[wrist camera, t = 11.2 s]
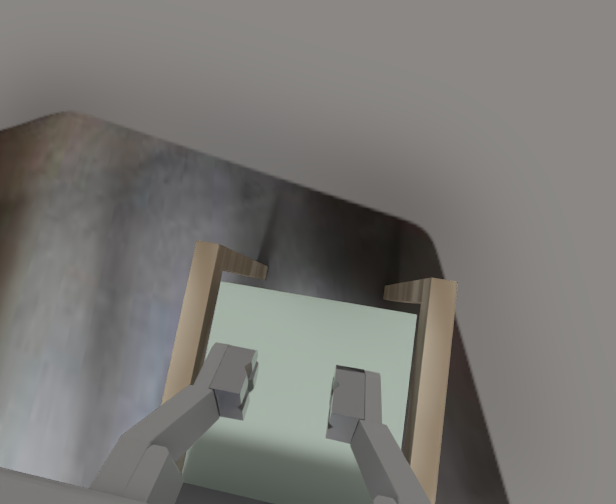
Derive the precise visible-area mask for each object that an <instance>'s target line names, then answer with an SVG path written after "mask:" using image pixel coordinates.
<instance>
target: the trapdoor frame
mask: <svg viewBox="0 0 616 504" xmlns="http://www.w3.org/2000/svg"><path fill="white" fill-rule="evenodd" d="M267 269H268V266H265V265H263V264H261V263H259V262H257V261H255V260H253V259H250V258H248V257H246V256H244V255H242V254H240V253H237V252H235V251H233V250H231V249H229V248H227V247H225V246H222V245H220V244H216V243H210V242H203V241H197V242H196V246H195V251H194V255H193V260H192V265H191V269H190V274H189V278H188V283H187V288H186V292H185V297H184V301H183V306H182V311H181V315H180V320H179V324H178V329H177V334H176V338H175V343H174V347H173V352H172V357H171V361H170V366H169V371H168V375H167V380H166V384H165V389H164V394H163V398H162V403H161V405H163V404H164V403H165V402H167V401H168V400H169V399H170V398H172V397H173V396H174V395H176V394H177V393H178V392H180V391H181V390H182V389H184V388H185V387H186V386H188V385H193V384H194V382H195V380H196V378H197V376H198V374H199V372H200V370H201V368H202V366H203V364H204V359H205V354H206V349H207V344H208V339H209V334H210V329H211V324H212V319H213V314H214V310H215V305H216V300H217V295H218V290H219V285H220V280H221V275H222V271H226V272H231V273H235V274H239V275H244V276H248V277H252V278H258V279H264V280H266V275H267ZM457 284H458V282H455V281H450V280H443V279H437V278H427V279H421V280H415V281H409V282H404V283H398V284H392V285H386V286H385V288H384V296H383V299H384V300H390V301H396V302H406V303H416V304H421V309H420V318H419V326H418V335H417V343H416V352H415V360H414V369H413V377H412V386H411V395H410V403H409V412H408V420H407V429H406V437H405V446H404V456H405V458H406V460H407V462H408V463H409V465H410V467H411V469H412V470H413V472H414V474H415V476H416V477H417V479H418V481H419V483H420V484H421V486H422V488H423V490H424V491H425V493H426V495H427V497H428V499H429V500H430V502H431V504H435V498H436V488H437V479H438V469H439V459H440V450H441V440H442V430H443V420H444V411H445V401H446V391H447V382H448V372H449V362H450V352H451V343H452V333H453V323H454V314H455V304H456V293H457ZM185 456H186V452H185V453H184V454H183V455H182V456H181V457H180V458H179V459H178V460H177V461H176V462H175V464H176V466H177V467H178V469H179V471H180V473H181V475H182V471H183V466H184V461H185Z"/></svg>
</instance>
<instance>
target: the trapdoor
mask: <svg viewBox="0 0 616 504" xmlns="http://www.w3.org/2000/svg"><path fill="white" fill-rule="evenodd" d="M416 319H417V315H416V314H411V313H405V312H399V311H393V310H387V309H381V308H376V307H370V306H364V305H358V304H352V303H346V302H340V301H334V300H328V299H323V298H317V297H311V296H305V295H299V294H293V293H287V292H281V291H275V290H269V289H264V288H258V287H252V286H246V285H240V284H234V283H228V282H221V284H220V289H219V294H218V299H217V304H216V309H215V313H214V318H213V323H212V328H211V333H210V338H209V343H208V348H207V353H206V358H207V356H208V354H209V352H210V350H211V348H212V346H213V345H214V344H215V343H216V342H217V343H223V344H229V345H232V346H238V347H243V348H248V349H254V350H258V357H257V360H256V361H257V362H258V363H259V369H258V375H257V380H256V384H255V387H254V389H253V390H252V391H251V392H250V393H249V398H250V402H249V405H248V408H247V412H246V415H245V418H244V421H242V420H237V419H231V418H226V417H220V416H219V419H218V420H217V421H216V422H215V423H214V424H213V425H212V426H211V427H210V428H209V429H208V430H207V431H206V432H205V433H204V434H203V435H202V436H201V437H200V438H199V439H198V440H197V441H196V442H195V443H194V444H193V445H192V446H191V447H190V448H189V449H188V450H187V451H186V456H185V461H184V466H183V471H182V477H183V481H184V482H183V484H182V487H181V489H180V492H179V494H178V497H177V499H176V502H175V504H371V503H372V502H373V501H372V499H371V496H370V494H369V491H368V489H367V486H366V484H365V481H364V479H363V476H362V474H361V471H360V469H359V466H358V464H357V461H356V459H355V457H354V454H353V452H352V449H351V447H350V444H348V443H344V442H340V441H336V440H331V439H327V438H325V437H326V428H327V418H328V413H329V408H330V405H329V400H330V392H331V386H332V380H333V377H334V371H335V366H336V365H340V366H346V367H352V368H358V369H364V370H367V371H373V372H379V374H380V376H381V402H382V424H385V425H387V426H388V428H389V430H390V432H391V433H392V435H393V437H394V439H395V440H396V442H397V444H398V446H399V447H400V449H401V445H402V437H403V428H404V420H405V411H406V403H407V394H408V386H409V378H410V369H411V361H412V352H413V344H414V335H415V327H416ZM206 358H205V360H206Z"/></svg>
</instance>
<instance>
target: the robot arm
mask: <svg viewBox="0 0 616 504" xmlns="http://www.w3.org/2000/svg"><path fill="white" fill-rule="evenodd" d="M257 357H258V350H254V349H248V348H243V347H238V346H232V345H229V344H223V343H217V342H216V343H215V344H214V345H213V346H212V348H211V350H210V352H209V354H208V356H207V358H206V360H205V362H204V364H203V366H202V368H201V370H200V372H199V374H198V376H197V378H196V380H195V382H194V384H193V385H188V386H186V387H185V388H184V389H182V390H181V391H180V392H178V393H177V394H176V395H174V396H173V397H172V398H170V399H169V400H168V401H167V402H165V403H164V404H163V405H161V406H160V407H159V408H157V409H156V410H155V411H153V412H152V413H151V414H149V415H148V416H147V417H145V418H144V419H143V420H141V421H140V422H139V423H137V424H136V425H135V426H133V427H132V428H131V429H129V430H128V431H127V432H125V433H124V434H123V435H121V437H120V438H119V440H118V442H117V443H116V445H115V447H114V448H113V450H112V451H111V453H110V455H109V456H108V458H107V460H106V461H105V463H104V464H103V466H102V468H101V469H100V471H99V473H98V474H97V476H96V478H95V479H94V481H93V482H92V484H91V486H90V487H89V489H88V488H84V487H80V486H76V485H71V484H67V483H63V482H59V481H55V480H51V479H47V478H43V477H39V476H34V475H30V474H26V473H22V472H18V471H14V470H10V469H6V468H2V467H0V504H175V502H176V499H177V497H178V494H179V492H180V489H181V487H182V484H183V482H184V481H183V477H182V475H181V473H180V471H179V469H178V467H177V466H176V464H175V462H176V461H177V460H178V459H179V458H180V457H181V456H182V455H183V454H184V453H185V452H186V451H187V450H188V449H189V448H190V447H191V446H192V445H193V444H194V443H195V442H196V441H197V440H198V439H199V438H200V437H201V436H202V435H203V434H204V433H205V432H206V431H207V430H208V429H209V428H210V427H211V426H212V425H213V424H214V423H215V422H216V421H217V420H218V419H219V416H220V417H226V418H231V419H237V420H242V421H244V418H245V415H246V412H247V408H248V405H249V402H250V398H249V393H250V392H251V391H252V390H253V389H254V387H255V384H256V380H257V375H258V369H259V363H258V362H257V361H256V360H257ZM329 405H330V408H329V413H328V418H327V428H326V437H325V438H327V439H331V440H336V441H340V442H344V443H348V444H350V447H351V449H352V452H353V454H354V457H355V459H356V461H357V464H358V466H359V469H360V471H361V474H362V476H363V479H364V481H365V484H366V486H367V489H368V491H369V494H370V496H371V499H372V501H373V502H372V503H371V504H431V502H430V500H429V499H428V497H427V495H426V493H425V491H424V490H423V488H422V486H421V484H420V483H419V481H418V479H417V477H416V476H415V474H414V472H413V470H412V469H411V467H410V465H409V463H408V462H407V460H406V458H405V456H404V454H403V453H402V451H401V449H400V447H399V446H398V444H397V442H396V440H395V439H394V437H393V435H392V433H391V432H390V430H389V428H388V426H387V425H385V424H382V402H381V376H380V374H379V372H373V371H367V370H364V369H358V368H352V367H346V366H340V365H336V366H335V371H334V377H333V380H332V386H331V392H330V400H329Z"/></svg>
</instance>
